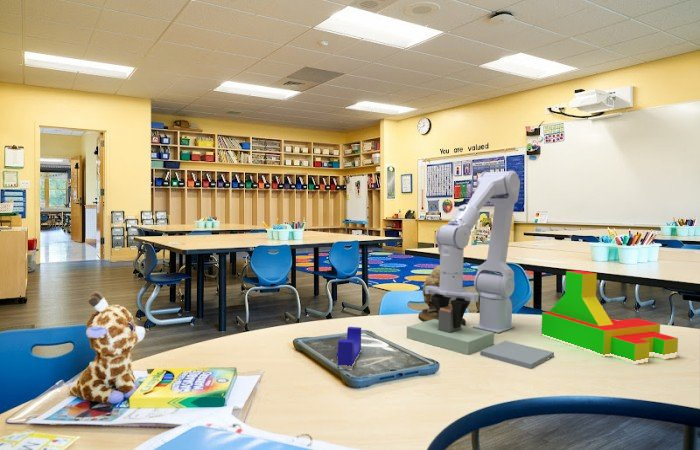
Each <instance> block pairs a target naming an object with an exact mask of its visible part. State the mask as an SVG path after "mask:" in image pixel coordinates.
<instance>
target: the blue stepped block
mask: <svg viewBox="0 0 700 450" xmlns="http://www.w3.org/2000/svg"><path fill="white" fill-rule="evenodd" d="M346 333H347V334H346V338H345V339H344V338H342V339H339V340H338V341H337V352H336V357H337V356H338V359H337V366H338V365H347V366H349V365H350V366H352V364H353V363H354V361H355V359H356V357H357V356H358V354H359V352H360V350H361V351H362V327H360V326H359V327H358V326H357V327H356V326H348V327H347V331H346Z"/></svg>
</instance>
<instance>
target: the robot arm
mask: <svg viewBox="0 0 700 450" xmlns="http://www.w3.org/2000/svg"><path fill="white" fill-rule="evenodd" d="M520 186H521V181H520V178H519V175H518V174H517V172H516V171H515V170H507V171H503V170H502V171H483V172H481V173H480V175H479V176H478V178H477V179H476V188H475V190H474V191H473V193H472V195H471V197H470V199H469V200H468V202H467V204H466V203H464V204H461V205H459V207H458V209H457V210H456V211H455V212H454V214H453V216H452V217H451V219H450V220H448V222H447V224H444V225H442V226H439V228H438V229H437V232H436V235H435V242H436V244H437V251H438V253H439V265H440V285H439V287H437V286H425V294H434V297H432V298H431V301H432V302H433V304H434V306H435V308H436V311H437V314H438V318H439V310H440V308H442V307H446V306H448V304H449V300H450V298H456V300H452V301H451V305H452V309H453V327H454V328H459V327H460V325H461V322H462V318H464V315H465V312H466V311H467V309H468V307H469V306H470V304H471V303H478V302H479V323H477V324H474V325H472V326H473V327H472V328H476V329H481V330H485V331H489V332H494V333H496V334H500V333H501V332H505V331H508V330H510V329H513V328H515V325H514V324H512V319H513V318H512V317H513V303H512V300H511V299H510V297H511V296H512V295H513V293H514V290H515V272H514V271H513V269H512V268H511V267H510V266H509V265H508V264H507V258H508V249H509V243H510V236H511V230H512V222H513V215H514V208H515V204H516V203H518V201H519V200H518V199H519V195H520V194H519V193H520ZM487 202H489V203H491V204H492V205H493V206H494V207H493V208H494V209H493V216H492V224H491V229H490V236H489V237H490V238H489V243H488V249H487V257H486V260H485V261H484V262H483V263H481V264H480V265H479V266H477V272H476V275H474V278H473V279H474V280H473V287H474V290H475V292H472V291H470V290H469V291H468V290H465V289H463V286H464V285H463V284H464V282H463V281H464V248H466V247H467V245H468V244H469V241H470V237H471V233H472V229H473V228H474V226H475V225H476V224H477V222H478V221H479V220H480V211H481V209H483V208H484V206H485V205H486V204H487Z"/></svg>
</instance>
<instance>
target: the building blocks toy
mask: <svg viewBox="0 0 700 450" xmlns="http://www.w3.org/2000/svg"><path fill="white" fill-rule="evenodd" d="M597 275H598V273H596V272H591V271H585V270H566V271H565V289H564V290H565V292H564V294H563V295H562V297H561V298H559V300H558V301H557V302H556V303H555V304H554V305H553V307H552V308H551V309H550V310H549V311H542V312H541V334H544V335H547V336H550V337H553V338H556V339H559V340H562V341H565V342H568V343H571V344H574V345H577V346H580V347H583V348H586V349H590V350H592V351H595V352H597V353H600V354H603V355H605V354H610V353H611V354H614V355H617V356H621V357H625V358H628V359H631V360H633V361H636V360H641V359H645V358H649V359H650V357H649V352H655V353H659V354H663V355H665V354H670V353H675V352H677V353H678V347H679V346H678V345H679V344H678V343H679V337H675V336H671V335H667V334H663V333H661V323H658V322H653V321H649V320H645V319H642V318H638V317H637V318H629V319H615V318H614V319H613V318H610V317H609V316H608V313H607V312H606V311H605V309H604V307H603V306H602V304H601V303H600V301H599V300H598V297H597V277H598V276H597ZM541 334H540V335H541Z"/></svg>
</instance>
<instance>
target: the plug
mask: <svg viewBox="0 0 700 450" xmlns="http://www.w3.org/2000/svg"><path fill="white" fill-rule="evenodd" d="M438 330H439V331H444V332H448V333H453V332H456V331H459V330H461V325H460V327H459V328H454V327H453V309H452V306H451V305H450V306H446V307H442V308H440V310H439V321H438Z"/></svg>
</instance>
